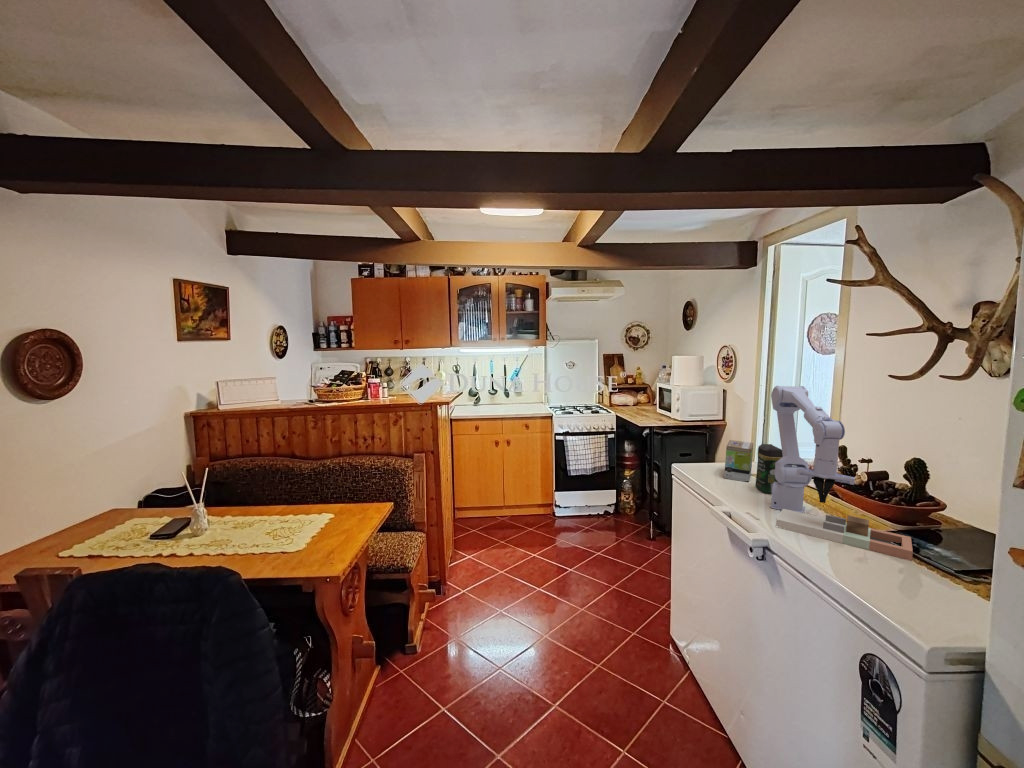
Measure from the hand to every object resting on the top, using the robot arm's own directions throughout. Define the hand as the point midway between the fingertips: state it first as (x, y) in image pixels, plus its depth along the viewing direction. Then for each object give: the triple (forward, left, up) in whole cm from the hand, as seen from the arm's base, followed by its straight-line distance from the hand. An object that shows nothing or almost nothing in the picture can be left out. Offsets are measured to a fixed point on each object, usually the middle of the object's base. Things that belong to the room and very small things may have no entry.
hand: (822, 501), depth 134 cm
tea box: (-34, +45, -10) cm, 57 cm away
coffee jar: (-20, +32, -10) cm, 39 cm away
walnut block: (+9, 0, -7) cm, 11 cm away
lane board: (+5, 0, -9) cm, 11 cm away
